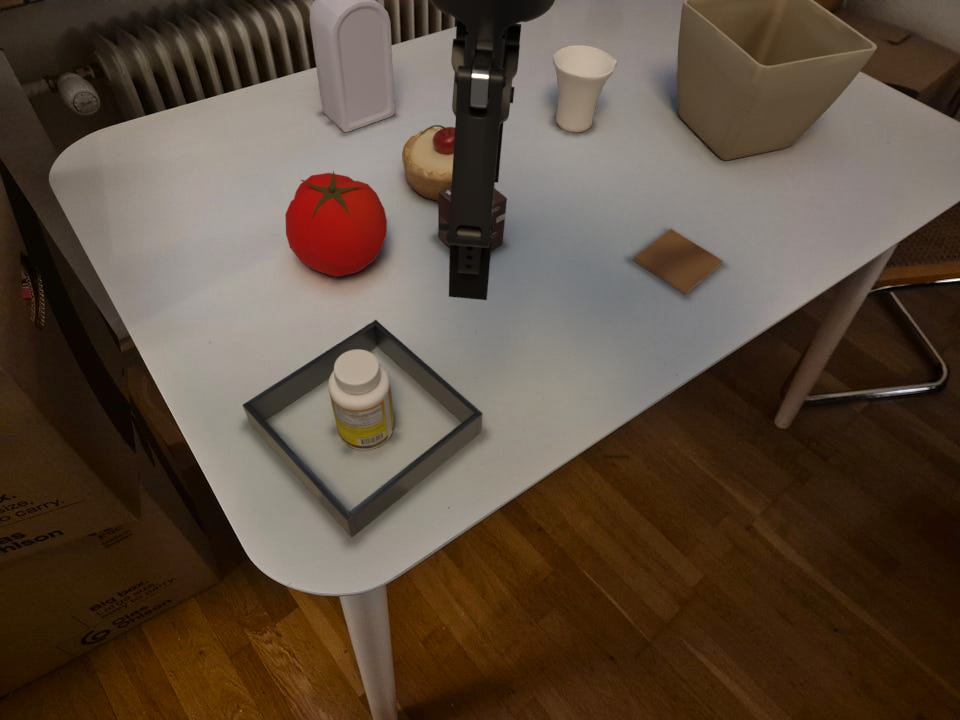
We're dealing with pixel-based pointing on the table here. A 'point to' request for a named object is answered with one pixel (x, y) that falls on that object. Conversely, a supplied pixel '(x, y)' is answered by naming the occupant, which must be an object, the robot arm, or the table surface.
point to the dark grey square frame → (321, 371)
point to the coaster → (678, 261)
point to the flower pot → (762, 70)
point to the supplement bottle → (361, 400)
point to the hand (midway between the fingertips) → (475, 232)
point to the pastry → (430, 160)
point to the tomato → (335, 224)
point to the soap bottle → (353, 61)
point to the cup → (580, 84)
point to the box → (496, 218)
